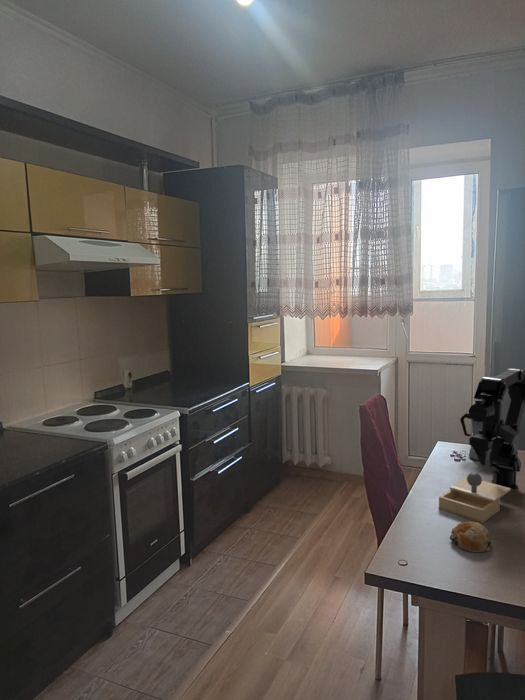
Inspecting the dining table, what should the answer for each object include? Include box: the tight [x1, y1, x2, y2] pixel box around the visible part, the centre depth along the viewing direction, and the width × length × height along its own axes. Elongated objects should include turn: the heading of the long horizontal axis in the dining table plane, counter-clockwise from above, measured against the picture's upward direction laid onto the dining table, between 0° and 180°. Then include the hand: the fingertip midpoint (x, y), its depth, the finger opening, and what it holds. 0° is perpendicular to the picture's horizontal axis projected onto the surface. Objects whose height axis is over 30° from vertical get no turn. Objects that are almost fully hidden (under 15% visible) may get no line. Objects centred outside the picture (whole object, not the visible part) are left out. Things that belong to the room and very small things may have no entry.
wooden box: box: [438, 489, 501, 524], centre depth 162 cm, size 12×14×4 cm
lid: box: [449, 472, 512, 502], centre depth 166 cm, size 13×14×7 cm
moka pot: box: [460, 412, 492, 462], centre depth 206 cm, size 10×15×20 cm, turn 78°
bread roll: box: [449, 520, 492, 553], centre depth 141 cm, size 10×10×8 cm
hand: (489, 461), depth 170 cm, fingers open, 9 cm apart
